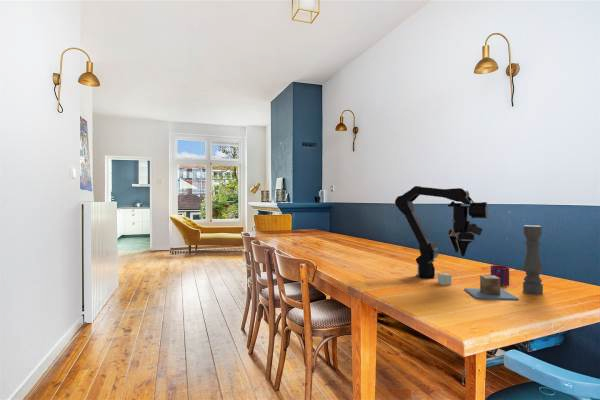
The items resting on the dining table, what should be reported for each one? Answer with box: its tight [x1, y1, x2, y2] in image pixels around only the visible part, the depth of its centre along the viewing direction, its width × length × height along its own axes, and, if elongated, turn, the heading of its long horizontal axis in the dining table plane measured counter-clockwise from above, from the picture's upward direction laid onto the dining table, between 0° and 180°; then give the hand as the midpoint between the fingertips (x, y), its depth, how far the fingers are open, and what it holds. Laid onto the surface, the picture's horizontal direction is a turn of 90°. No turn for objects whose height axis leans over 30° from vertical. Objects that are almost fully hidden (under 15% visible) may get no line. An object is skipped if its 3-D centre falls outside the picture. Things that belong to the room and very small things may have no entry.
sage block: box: [437, 272, 452, 286], centre depth 142 cm, size 4×4×4 cm
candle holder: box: [522, 224, 544, 296], centre depth 128 cm, size 6×6×25 cm
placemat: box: [463, 287, 519, 301], centre depth 125 cm, size 14×12×1 cm
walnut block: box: [479, 274, 501, 295], centre depth 125 cm, size 5×5×6 cm
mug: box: [490, 264, 510, 286], centre depth 141 cm, size 7×10×7 cm
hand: (459, 254), depth 145 cm, fingers open, 9 cm apart
